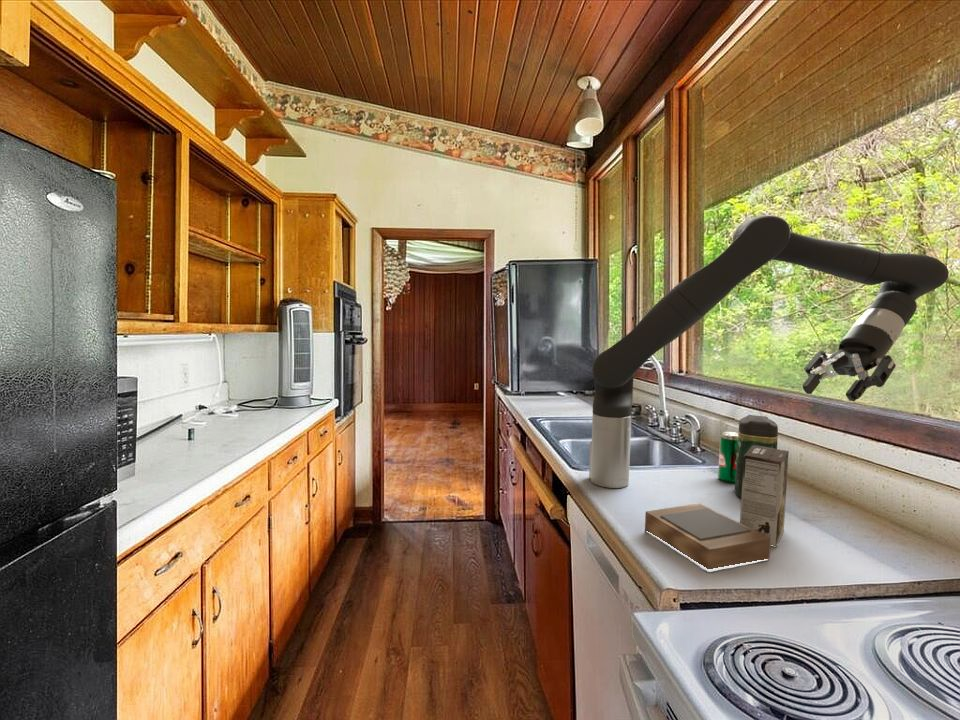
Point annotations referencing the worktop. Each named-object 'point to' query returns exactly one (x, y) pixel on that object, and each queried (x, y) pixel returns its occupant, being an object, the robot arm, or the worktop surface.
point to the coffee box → (764, 491)
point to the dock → (707, 535)
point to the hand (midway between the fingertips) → (827, 394)
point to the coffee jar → (753, 441)
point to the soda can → (728, 457)
